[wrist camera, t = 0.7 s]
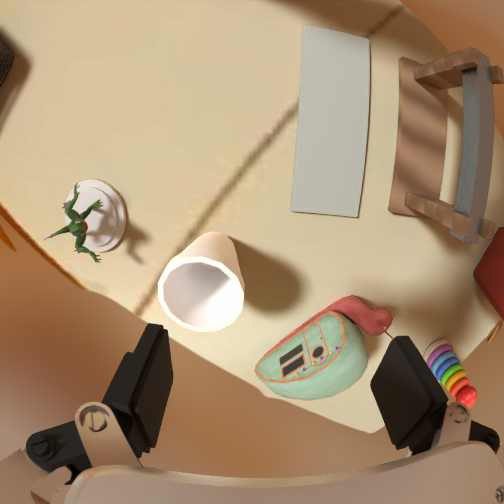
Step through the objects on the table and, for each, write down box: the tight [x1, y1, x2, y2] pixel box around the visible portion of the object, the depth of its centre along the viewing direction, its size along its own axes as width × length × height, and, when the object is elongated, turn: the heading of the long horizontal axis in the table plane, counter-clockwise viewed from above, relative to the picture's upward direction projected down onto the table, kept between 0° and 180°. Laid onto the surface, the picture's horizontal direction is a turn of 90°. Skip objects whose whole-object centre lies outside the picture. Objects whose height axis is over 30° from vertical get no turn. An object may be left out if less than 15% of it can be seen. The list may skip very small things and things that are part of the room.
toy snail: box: [255, 296, 393, 400], centre depth 40 cm, size 25×8×14 cm, turn 134°
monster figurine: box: [44, 179, 126, 262], centre depth 33 cm, size 12×12×10 cm
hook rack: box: [388, 47, 504, 240], centre depth 26 cm, size 25×9×16 cm, turn 176°
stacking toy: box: [423, 339, 477, 408], centre depth 41 cm, size 8×8×19 cm
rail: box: [449, 48, 494, 244], centre depth 21 cm, size 24×3×3 cm, turn 176°
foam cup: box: [158, 231, 245, 332], centre depth 34 cm, size 10×9×13 cm
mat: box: [290, 25, 370, 217], centre depth 33 cm, size 28×10×1 cm, turn 176°
